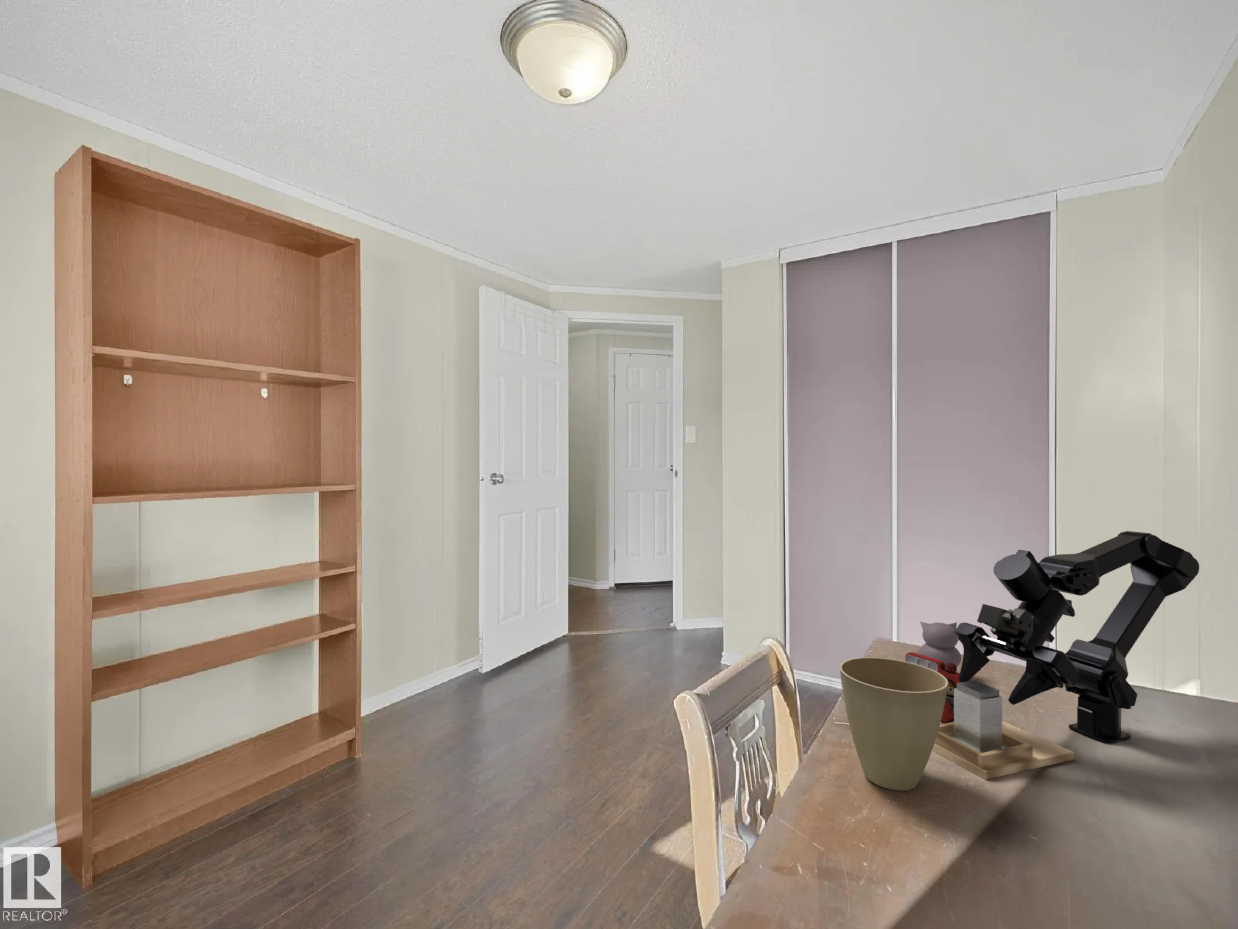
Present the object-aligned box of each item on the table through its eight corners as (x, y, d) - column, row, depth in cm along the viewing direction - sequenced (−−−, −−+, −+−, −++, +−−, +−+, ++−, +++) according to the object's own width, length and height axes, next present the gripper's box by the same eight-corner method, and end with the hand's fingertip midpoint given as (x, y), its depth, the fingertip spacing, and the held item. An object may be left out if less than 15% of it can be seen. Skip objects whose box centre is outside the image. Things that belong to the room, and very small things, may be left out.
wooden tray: (1003, 728, 107) (1003, 710, 107) (1073, 759, 96) (1073, 739, 96) (921, 744, 101) (921, 725, 101) (985, 779, 90) (985, 758, 90)
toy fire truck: (959, 730, 107) (959, 672, 107) (895, 706, 117) (895, 653, 117) (980, 721, 111) (980, 665, 111) (916, 698, 121) (916, 647, 121)
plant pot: (908, 818, 80) (909, 700, 80) (818, 770, 93) (819, 667, 93) (968, 786, 88) (969, 678, 88) (877, 745, 101) (878, 651, 101)
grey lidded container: (975, 739, 100) (975, 679, 100) (1002, 753, 96) (1002, 690, 96) (953, 742, 99) (954, 682, 99) (980, 757, 94) (980, 693, 94)
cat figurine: (925, 681, 131) (925, 626, 131) (913, 669, 138) (913, 617, 138) (967, 684, 129) (967, 628, 129) (953, 671, 137) (953, 619, 137)
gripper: (961, 577, 108) (912, 644, 105) (1065, 600, 90) (1010, 681, 87) (995, 616, 111) (948, 683, 107) (1103, 646, 93) (1050, 727, 90)
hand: (984, 692), depth 98 cm, fingers open, 9 cm apart
